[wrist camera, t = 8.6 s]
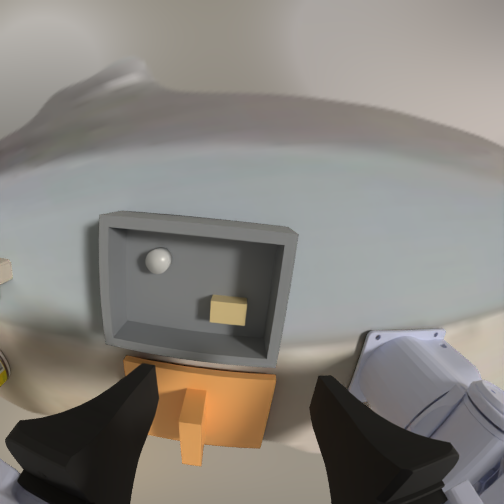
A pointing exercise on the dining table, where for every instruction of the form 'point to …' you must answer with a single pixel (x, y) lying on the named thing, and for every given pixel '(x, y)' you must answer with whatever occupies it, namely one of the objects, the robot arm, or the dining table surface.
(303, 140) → the dining table surface
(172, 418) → the lid
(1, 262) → the architectural model
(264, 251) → the tub
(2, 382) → the supplement bottle
